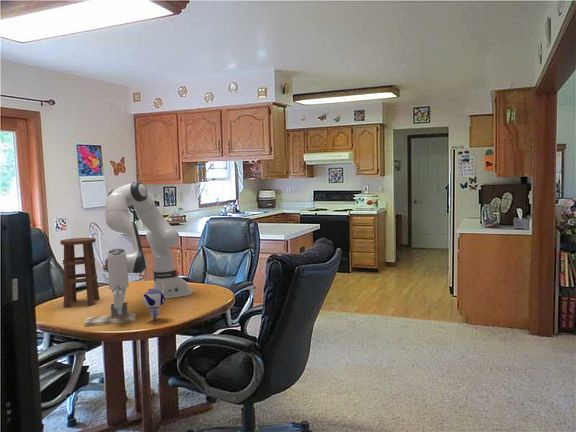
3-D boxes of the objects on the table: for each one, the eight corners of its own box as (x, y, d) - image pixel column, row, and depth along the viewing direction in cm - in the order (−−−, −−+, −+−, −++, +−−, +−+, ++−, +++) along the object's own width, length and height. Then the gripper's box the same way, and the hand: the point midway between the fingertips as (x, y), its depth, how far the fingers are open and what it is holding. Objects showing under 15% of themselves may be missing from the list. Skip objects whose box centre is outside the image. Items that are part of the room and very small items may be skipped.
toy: (163, 323, 219) (162, 290, 218) (141, 324, 218) (139, 291, 217) (167, 316, 229) (166, 285, 228) (146, 317, 229) (145, 286, 227)
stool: (84, 236, 272) (105, 238, 260) (88, 297, 274) (108, 301, 263) (50, 240, 256) (71, 242, 244) (55, 305, 258) (75, 310, 247)
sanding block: (127, 314, 229) (127, 302, 228) (127, 316, 225) (126, 304, 225) (112, 316, 227) (111, 303, 226) (111, 318, 223) (110, 305, 223)
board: (135, 315, 233) (135, 312, 233) (134, 321, 223) (134, 318, 223) (87, 320, 227) (86, 317, 227) (84, 326, 217) (83, 323, 217)
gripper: (124, 287, 216) (126, 318, 217) (126, 279, 235) (128, 306, 237) (109, 289, 214) (111, 319, 215) (113, 280, 234) (115, 308, 235)
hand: (120, 312), depth 226 cm, fingers closed on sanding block, 3 cm apart
